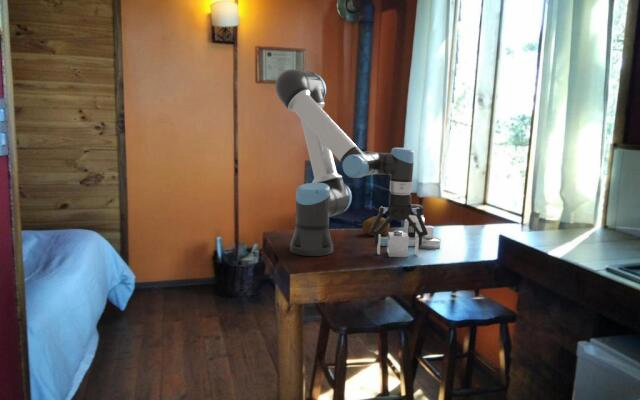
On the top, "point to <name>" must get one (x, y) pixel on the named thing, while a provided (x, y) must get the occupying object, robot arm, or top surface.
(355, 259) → the top surface
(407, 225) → the container
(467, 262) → the top surface
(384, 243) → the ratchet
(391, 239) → the cube with chrome knob
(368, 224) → the potato
